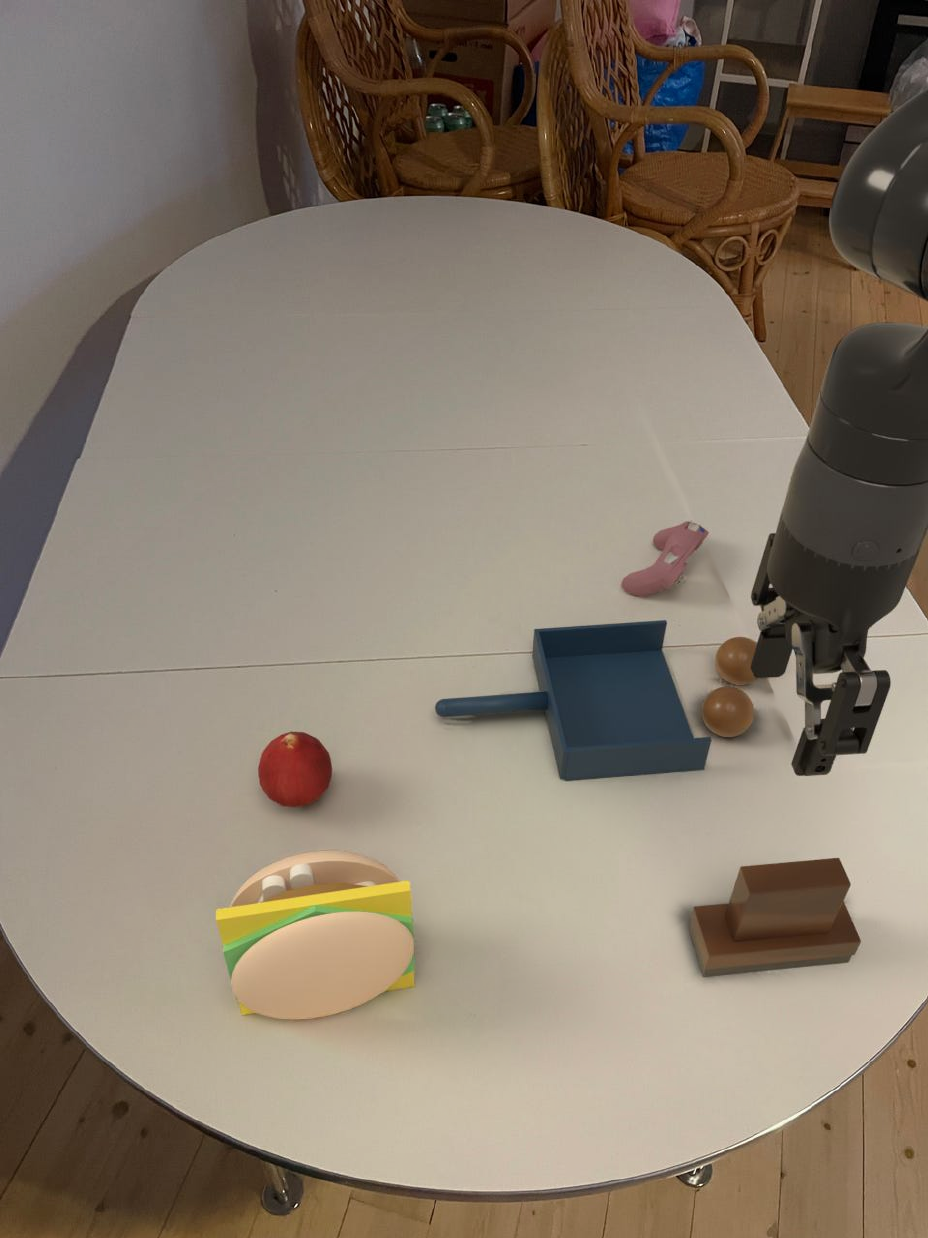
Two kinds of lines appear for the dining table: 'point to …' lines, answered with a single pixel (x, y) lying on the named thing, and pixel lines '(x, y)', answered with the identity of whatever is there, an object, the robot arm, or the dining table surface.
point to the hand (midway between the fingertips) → (786, 720)
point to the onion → (295, 769)
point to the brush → (777, 920)
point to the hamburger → (317, 935)
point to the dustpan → (603, 702)
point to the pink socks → (667, 559)
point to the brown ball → (736, 660)
